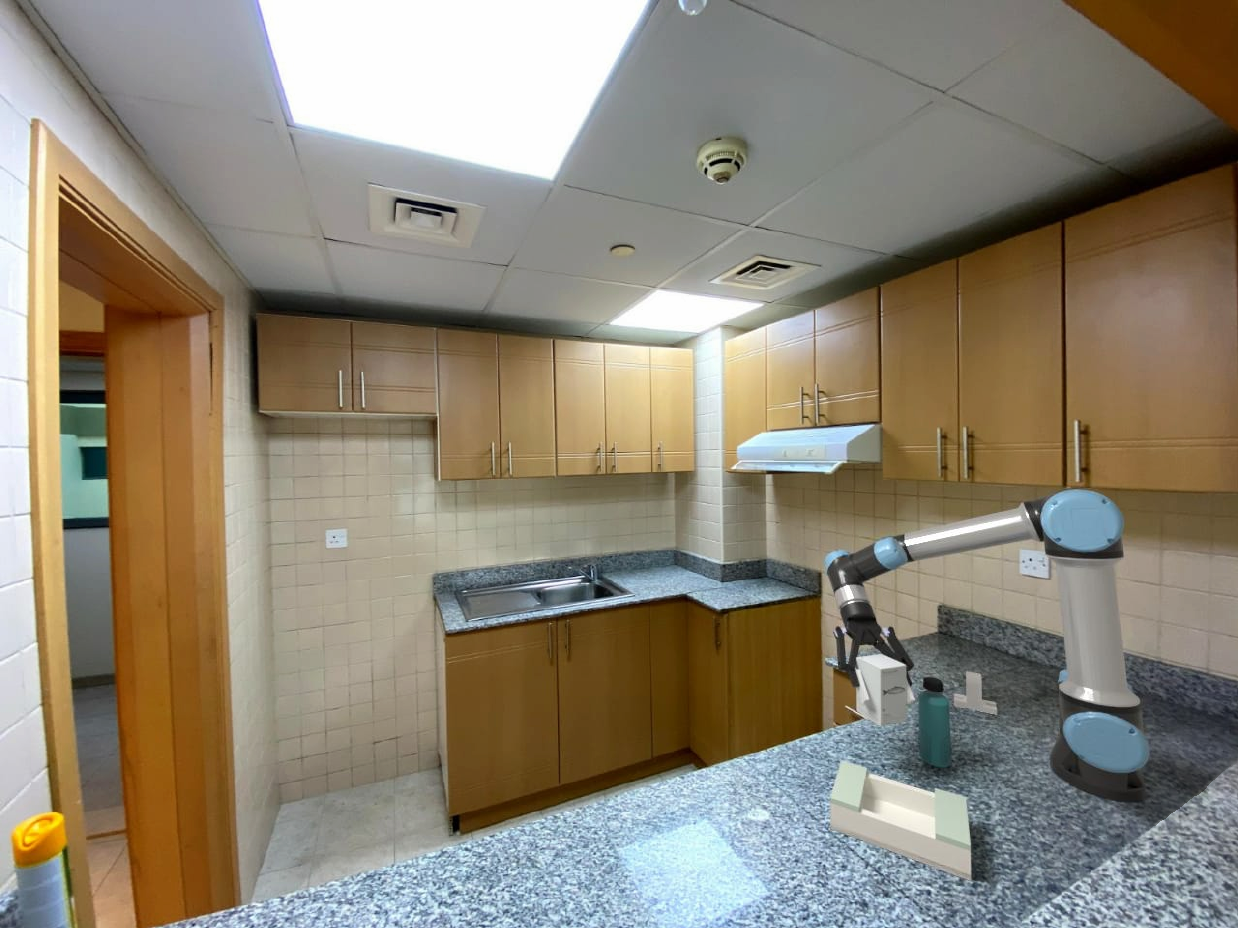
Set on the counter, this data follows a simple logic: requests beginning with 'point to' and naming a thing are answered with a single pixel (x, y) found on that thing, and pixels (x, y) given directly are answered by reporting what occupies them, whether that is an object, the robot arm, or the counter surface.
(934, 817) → the cream green tray
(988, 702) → the cable organizer
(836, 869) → the counter surface
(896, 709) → the supplement box
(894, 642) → the robot arm
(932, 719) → the beverage bottle
